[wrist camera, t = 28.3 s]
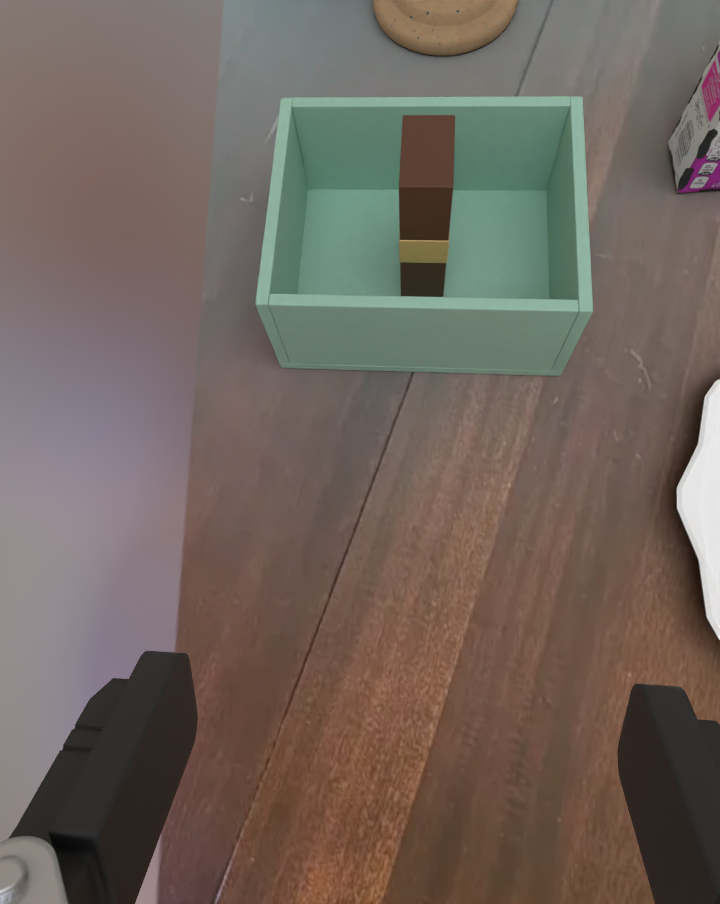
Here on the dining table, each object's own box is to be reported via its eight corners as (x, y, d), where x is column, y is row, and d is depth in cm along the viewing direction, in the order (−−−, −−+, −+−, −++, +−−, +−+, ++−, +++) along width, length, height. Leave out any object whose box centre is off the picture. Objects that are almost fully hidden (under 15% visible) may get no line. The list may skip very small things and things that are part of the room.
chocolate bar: (399, 301, 49) (397, 187, 38) (403, 240, 50) (401, 113, 39) (443, 302, 49) (454, 187, 37) (445, 241, 50) (456, 113, 39)
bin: (280, 368, 49) (254, 304, 40) (300, 187, 54) (280, 97, 45) (560, 376, 47) (593, 311, 39) (554, 189, 52) (582, 95, 44)
